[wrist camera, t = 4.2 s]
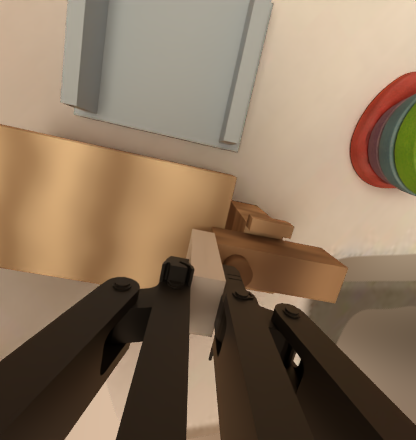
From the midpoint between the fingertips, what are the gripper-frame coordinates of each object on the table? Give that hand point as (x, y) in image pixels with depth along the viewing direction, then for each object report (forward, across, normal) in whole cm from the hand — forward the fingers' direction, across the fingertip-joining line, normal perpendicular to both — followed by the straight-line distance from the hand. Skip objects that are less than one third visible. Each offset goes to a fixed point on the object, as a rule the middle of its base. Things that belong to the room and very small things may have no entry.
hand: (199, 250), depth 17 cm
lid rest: (+11, -5, +14) cm, 18 cm away
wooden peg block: (+2, +5, 0) cm, 5 cm away
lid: (+4, -7, 0) cm, 8 cm away
